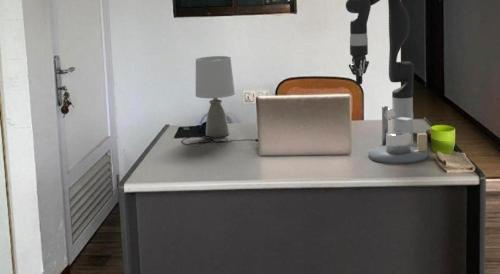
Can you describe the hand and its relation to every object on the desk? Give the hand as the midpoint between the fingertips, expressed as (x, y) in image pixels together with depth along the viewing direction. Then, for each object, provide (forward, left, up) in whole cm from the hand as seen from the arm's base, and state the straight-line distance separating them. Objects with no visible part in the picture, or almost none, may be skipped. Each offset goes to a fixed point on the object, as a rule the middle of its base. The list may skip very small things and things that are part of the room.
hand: (359, 84), depth 328 cm
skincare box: (-9, +17, -27) cm, 33 cm away
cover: (+9, +24, -25) cm, 36 cm away
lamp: (+17, -70, -27) cm, 77 cm away
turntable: (+9, +24, -27) cm, 37 cm away
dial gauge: (+1, +15, -27) cm, 31 cm away
